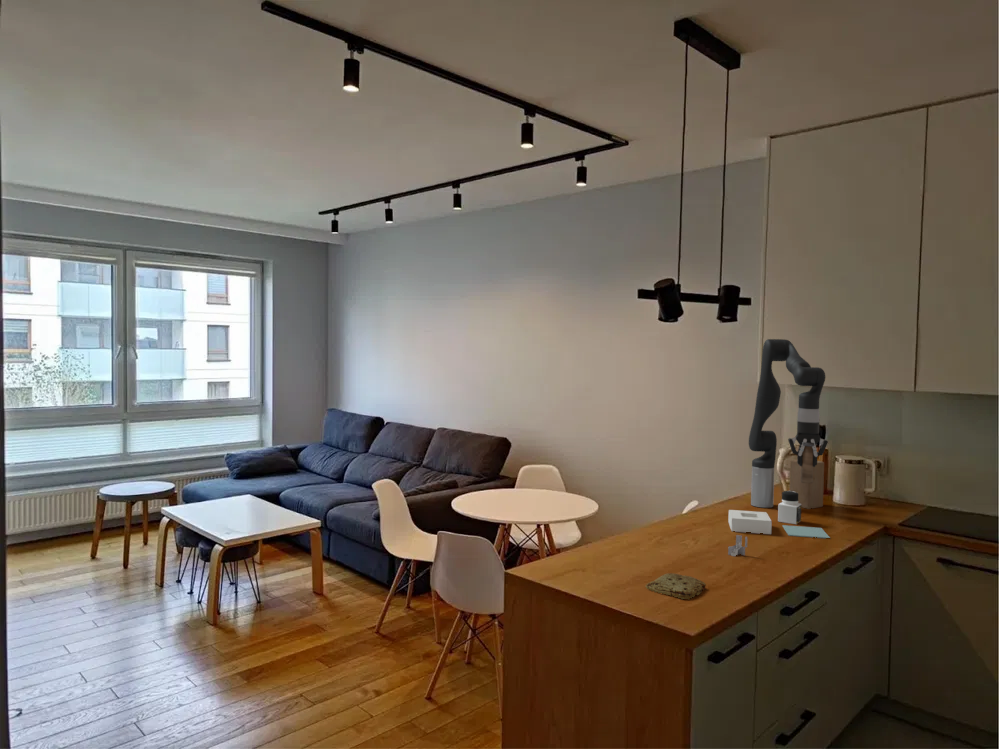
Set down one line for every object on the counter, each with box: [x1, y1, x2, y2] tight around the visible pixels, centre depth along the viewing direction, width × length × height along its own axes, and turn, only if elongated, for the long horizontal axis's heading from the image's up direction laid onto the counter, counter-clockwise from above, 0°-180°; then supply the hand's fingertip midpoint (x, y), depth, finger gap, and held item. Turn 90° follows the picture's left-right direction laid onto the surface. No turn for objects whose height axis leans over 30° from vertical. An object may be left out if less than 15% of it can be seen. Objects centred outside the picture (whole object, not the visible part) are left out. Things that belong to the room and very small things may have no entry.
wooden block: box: [789, 459, 825, 510], centre depth 296 cm, size 10×10×20 cm
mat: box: [781, 524, 831, 539], centre depth 252 cm, size 14×14×1 cm
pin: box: [801, 442, 814, 484], centre depth 251 cm, size 5×5×15 cm
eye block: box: [727, 509, 773, 535], centre depth 256 cm, size 14×14×5 cm
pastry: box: [644, 572, 707, 600], centre depth 190 cm, size 17×17×3 cm
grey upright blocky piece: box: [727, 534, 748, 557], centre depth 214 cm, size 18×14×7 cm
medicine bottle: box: [777, 490, 802, 525], centre depth 268 cm, size 7×7×12 cm
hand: (806, 465), depth 251 cm, fingers closed on pin, 4 cm apart
